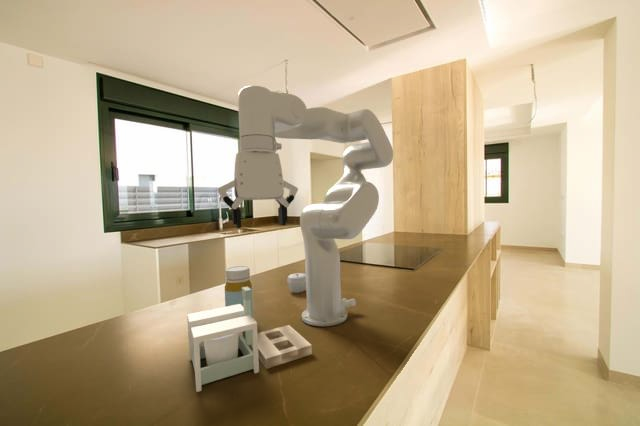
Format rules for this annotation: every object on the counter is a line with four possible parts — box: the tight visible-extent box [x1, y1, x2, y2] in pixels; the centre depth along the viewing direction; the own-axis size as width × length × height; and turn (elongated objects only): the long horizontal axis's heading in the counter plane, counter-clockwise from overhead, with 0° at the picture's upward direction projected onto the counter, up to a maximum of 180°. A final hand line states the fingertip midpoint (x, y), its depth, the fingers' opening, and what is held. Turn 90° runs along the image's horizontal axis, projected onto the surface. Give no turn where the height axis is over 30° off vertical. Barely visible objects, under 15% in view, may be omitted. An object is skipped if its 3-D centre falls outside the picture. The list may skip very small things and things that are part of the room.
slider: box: [191, 287, 254, 386], centre depth 58 cm, size 11×10×14 cm
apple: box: [286, 272, 306, 294], centre depth 105 cm, size 8×8×7 cm
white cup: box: [204, 333, 239, 367], centre depth 58 cm, size 7×7×7 cm
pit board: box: [249, 324, 313, 370], centre depth 64 cm, size 10×12×2 cm
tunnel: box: [186, 304, 260, 393], centre depth 58 cm, size 11×13×10 cm
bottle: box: [224, 265, 254, 319], centre depth 78 cm, size 7×7×15 cm
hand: (260, 226), depth 64 cm, fingers open, 9 cm apart
